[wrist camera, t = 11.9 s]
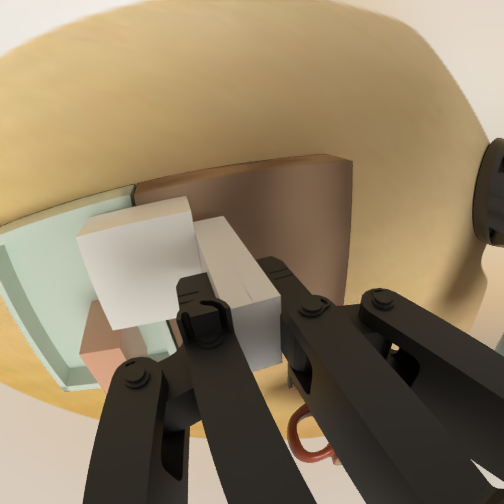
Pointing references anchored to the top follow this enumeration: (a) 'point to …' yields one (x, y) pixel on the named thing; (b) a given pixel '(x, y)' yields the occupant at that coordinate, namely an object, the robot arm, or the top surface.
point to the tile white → (140, 260)
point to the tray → (62, 286)
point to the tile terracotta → (108, 345)
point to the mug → (296, 444)
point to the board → (276, 213)
